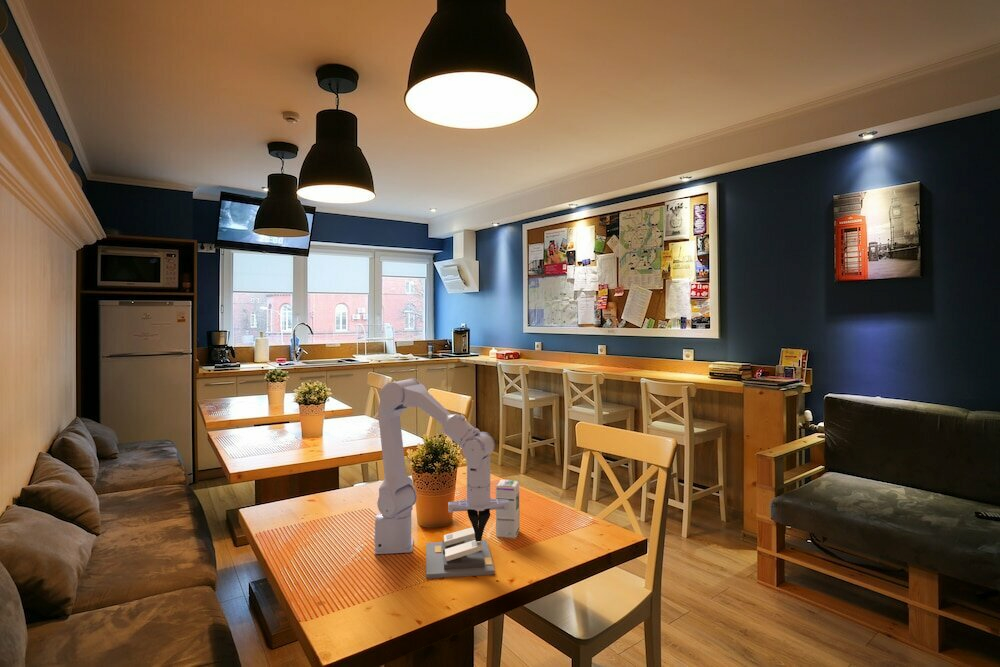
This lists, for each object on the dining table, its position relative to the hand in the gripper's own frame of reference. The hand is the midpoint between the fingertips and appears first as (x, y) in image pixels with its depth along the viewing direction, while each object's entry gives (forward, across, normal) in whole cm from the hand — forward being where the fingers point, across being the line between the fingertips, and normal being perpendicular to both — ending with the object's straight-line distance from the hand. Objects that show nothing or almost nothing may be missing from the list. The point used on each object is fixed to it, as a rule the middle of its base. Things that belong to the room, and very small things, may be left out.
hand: (478, 539), depth 127 cm
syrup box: (+7, +10, +18) cm, 22 cm away
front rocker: (+2, -4, 0) cm, 4 cm away
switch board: (+7, -4, +4) cm, 9 cm away
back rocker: (+2, -4, +8) cm, 9 cm away
